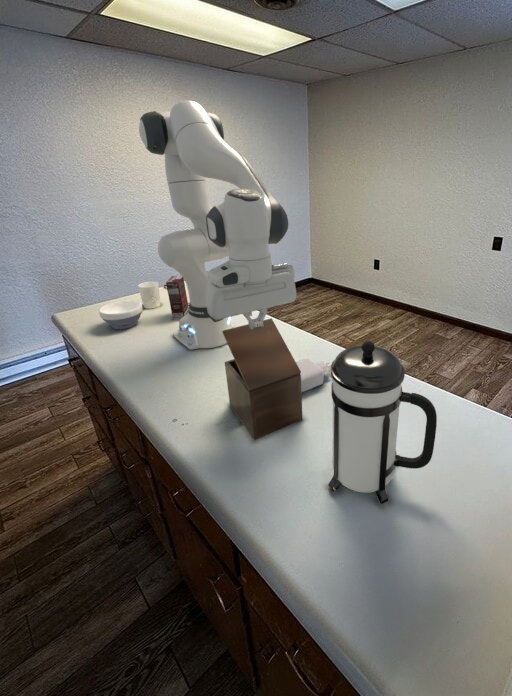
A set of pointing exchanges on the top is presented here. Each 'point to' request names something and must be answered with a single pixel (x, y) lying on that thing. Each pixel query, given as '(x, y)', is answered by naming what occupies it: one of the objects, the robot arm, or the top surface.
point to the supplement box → (177, 297)
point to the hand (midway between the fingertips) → (256, 327)
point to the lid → (261, 354)
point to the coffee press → (371, 419)
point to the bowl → (121, 313)
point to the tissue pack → (311, 373)
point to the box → (264, 402)
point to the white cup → (150, 294)
